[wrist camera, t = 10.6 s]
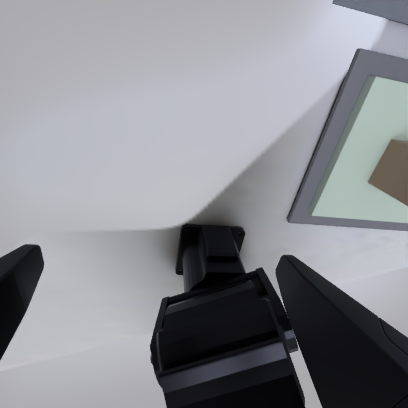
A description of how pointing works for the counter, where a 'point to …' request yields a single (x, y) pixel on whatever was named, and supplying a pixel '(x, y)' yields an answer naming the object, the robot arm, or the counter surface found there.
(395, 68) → the mat
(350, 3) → the dish
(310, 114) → the counter surface
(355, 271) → the counter surface
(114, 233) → the counter surface
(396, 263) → the counter surface
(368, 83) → the lid
